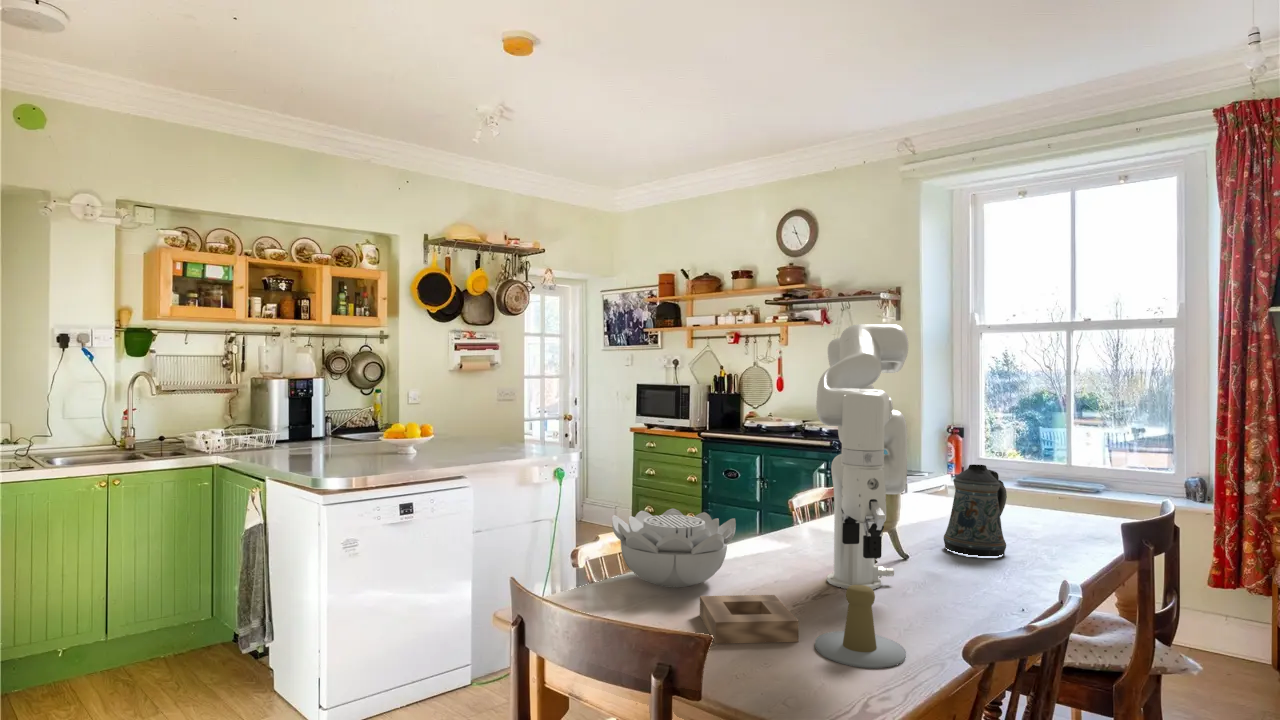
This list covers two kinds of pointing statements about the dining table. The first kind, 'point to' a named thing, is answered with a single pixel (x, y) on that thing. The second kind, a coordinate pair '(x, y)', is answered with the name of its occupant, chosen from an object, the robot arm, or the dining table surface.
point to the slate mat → (881, 657)
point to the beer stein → (977, 513)
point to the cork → (860, 619)
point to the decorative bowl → (673, 546)
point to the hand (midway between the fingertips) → (861, 550)
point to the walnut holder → (748, 619)
